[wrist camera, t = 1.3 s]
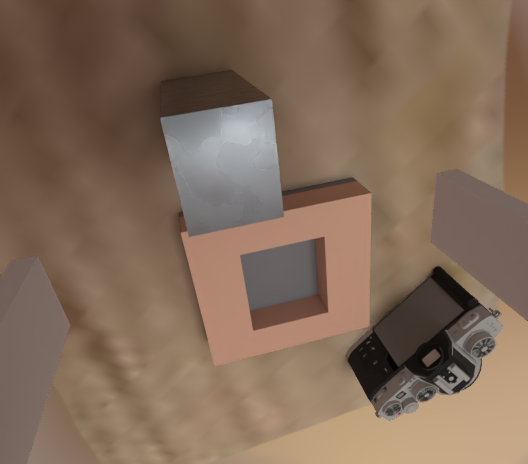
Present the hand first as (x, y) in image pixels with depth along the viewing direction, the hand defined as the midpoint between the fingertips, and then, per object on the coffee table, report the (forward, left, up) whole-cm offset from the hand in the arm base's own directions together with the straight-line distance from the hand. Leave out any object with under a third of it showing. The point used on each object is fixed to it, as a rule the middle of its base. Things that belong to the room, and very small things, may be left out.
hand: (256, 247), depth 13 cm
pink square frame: (+14, +4, -19) cm, 24 cm away
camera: (+26, +18, -19) cm, 36 cm away
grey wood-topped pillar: (0, 0, -19) cm, 19 cm away
